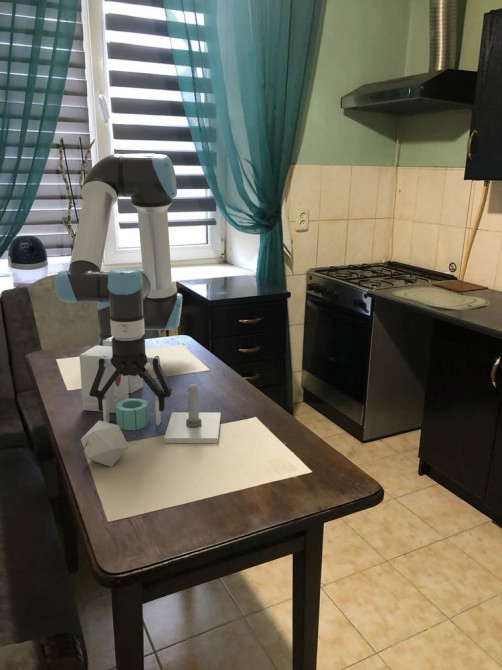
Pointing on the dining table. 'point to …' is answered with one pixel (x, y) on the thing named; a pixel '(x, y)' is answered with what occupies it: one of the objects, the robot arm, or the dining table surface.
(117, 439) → the die
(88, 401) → the supplement box
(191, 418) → the post stand
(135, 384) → the skincare box
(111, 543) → the dining table surface
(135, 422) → the teal ring
